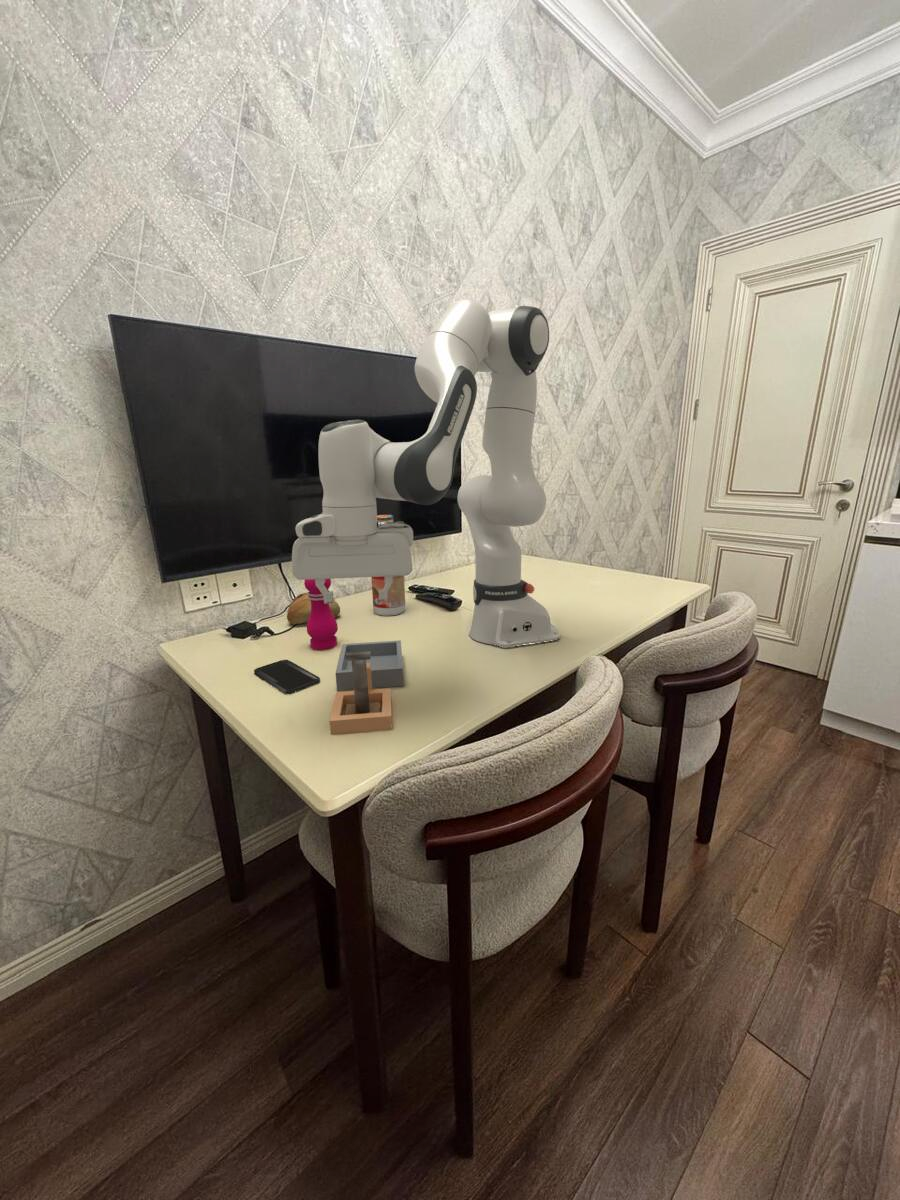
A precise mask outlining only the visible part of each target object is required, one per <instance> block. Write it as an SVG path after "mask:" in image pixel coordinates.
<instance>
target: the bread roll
mask: <svg viewBox="0 0 900 1200" xmlns="http://www.w3.org/2000/svg"><path fill="white" fill-rule="evenodd" d="M308 592H309V591H308ZM308 592H304V593H300V594H299V595H297V596H296V597H294V598H293V600H292V602H291V603H290V604H289V606H288V609H287V613H286V619H287V621H288V623H289V624H292V625H297V624H303V623H304V624H305V623H306V624H307V623H308V620H309V617H310V613H311V601H310V599H308ZM329 607H330V610H331V612H332V614H333V616H334V618H335V619H336V618H338V616H339V615H340V613H341V607H340V605H339V603H338V602H337V601H336V599H335V598H334V601H333V603H329Z"/></svg>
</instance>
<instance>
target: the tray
mask: <svg viewBox="0 0 900 1200" xmlns="http://www.w3.org/2000/svg"><path fill="white" fill-rule="evenodd" d="M364 651H370V654H371V659H368V660H366V663H367V662H371V677H372V689H382V688H391V687H392V688H393V687H404V685H405V684H404V683H405V682H404V665H403V653H402V641H401V640H400V639H399V640H389V641H388V640H387V641H386V640H385V641H371V642H352V643H342V644H341V648H340V653H339V657H338V661H337V665H336V669H335V681H336V692H341V691H347V690H348V691H354V685H353V673H352V661H346V653H348V652H364Z"/></svg>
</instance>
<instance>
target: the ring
mask: <svg viewBox="0 0 900 1200" xmlns="http://www.w3.org/2000/svg"><path fill="white" fill-rule="evenodd" d="M366 668H367V681H368V695H369V702H380V706H381V708H382V709H381V711H380V712H378V713H365V714H353V715H345V709H346V705H347V704H354V703H355V697H354V690H348V691H347V690H345V691H336V692H335V693H334V699H333V703H332V708H331V712H330V713H331V714H330V716H329V717H330V718H329V727H330V728H329V730H330V735H339V734H340V735H341V734H350V733H362V732H363V733H364V732H377V731H388V730H393V721H392V720H393V718H392V717H393V715H392V705H393V704H392V689H391V687H386V688H372V677H371V662H367V663H366Z"/></svg>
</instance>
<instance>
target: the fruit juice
mask: <svg viewBox="0 0 900 1200" xmlns="http://www.w3.org/2000/svg"><path fill="white" fill-rule="evenodd" d="M377 521H378V522H394V515H392V514H379V515H378V514H377ZM392 577H393V583H392V584H391V586H390V588H389V590H388V592H387V601H379V589H384V587H385V585H386V583H387V582H385V578H384V576H383V577H370V579H371V593H372V606H373V613H374V614H376V615H378V616H383V617H384V616H385V617H392V616H396V615H400V614H403V613H405V611H406V593H405V592H406V591H405V590H406V589H405V586H406V585H405V576H392Z"/></svg>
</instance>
